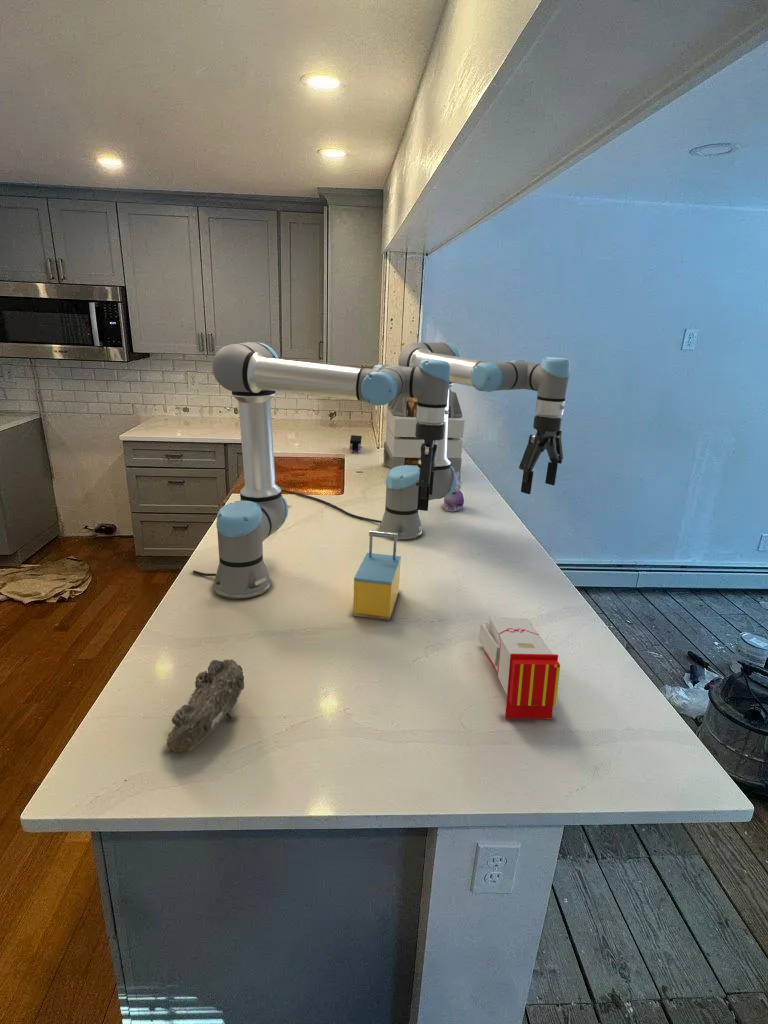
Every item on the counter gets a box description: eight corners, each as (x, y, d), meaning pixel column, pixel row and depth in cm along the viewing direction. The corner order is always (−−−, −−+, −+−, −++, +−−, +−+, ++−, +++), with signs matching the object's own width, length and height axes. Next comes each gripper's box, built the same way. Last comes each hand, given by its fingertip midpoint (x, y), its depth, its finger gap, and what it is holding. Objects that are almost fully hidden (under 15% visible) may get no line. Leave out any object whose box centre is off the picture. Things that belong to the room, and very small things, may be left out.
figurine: (450, 513, 222) (453, 476, 217) (436, 505, 230) (439, 469, 225) (470, 510, 226) (473, 474, 221) (455, 502, 234) (458, 467, 229)
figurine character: (361, 456, 305) (361, 447, 319) (361, 443, 302) (362, 434, 315) (348, 456, 305) (350, 446, 318) (349, 442, 302) (350, 433, 315)
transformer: (382, 463, 289) (386, 382, 275) (445, 464, 293) (451, 384, 279) (390, 482, 257) (394, 392, 243) (460, 483, 261) (468, 394, 247)
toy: (525, 603, 136) (569, 660, 107) (520, 654, 139) (562, 725, 109) (475, 601, 135) (505, 659, 106) (471, 653, 138) (499, 724, 109)
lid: (366, 555, 157) (367, 526, 155) (400, 558, 156) (402, 530, 153) (354, 580, 142) (354, 549, 140) (391, 585, 141) (393, 553, 138)
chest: (365, 588, 160) (366, 556, 157) (398, 592, 159) (400, 560, 156) (352, 615, 146) (353, 580, 142) (389, 620, 144) (391, 585, 141)
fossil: (192, 660, 117) (244, 628, 112) (224, 691, 120) (276, 661, 115) (142, 746, 98) (202, 712, 93) (182, 779, 101) (242, 748, 96)
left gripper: (442, 433, 132) (435, 518, 139) (448, 415, 155) (442, 489, 162) (410, 431, 133) (405, 516, 140) (421, 413, 156) (416, 486, 163)
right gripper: (537, 422, 146) (526, 500, 153) (582, 413, 163) (570, 483, 170) (512, 417, 151) (503, 493, 158) (558, 409, 168) (548, 477, 175)
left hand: (425, 501), depth 151 cm, fingers open, 13 cm apart
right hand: (538, 488), depth 164 cm, fingers open, 13 cm apart
